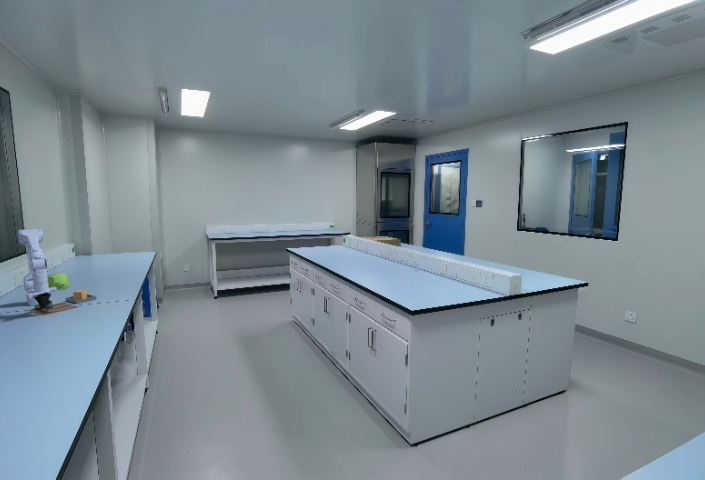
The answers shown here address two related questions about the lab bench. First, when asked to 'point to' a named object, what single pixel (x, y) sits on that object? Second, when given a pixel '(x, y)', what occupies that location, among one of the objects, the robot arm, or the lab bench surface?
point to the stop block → (80, 294)
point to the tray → (89, 298)
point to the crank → (49, 307)
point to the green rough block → (58, 280)
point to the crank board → (54, 309)
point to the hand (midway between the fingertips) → (43, 308)
